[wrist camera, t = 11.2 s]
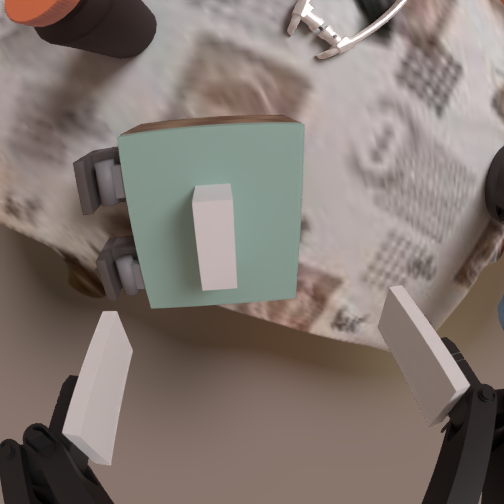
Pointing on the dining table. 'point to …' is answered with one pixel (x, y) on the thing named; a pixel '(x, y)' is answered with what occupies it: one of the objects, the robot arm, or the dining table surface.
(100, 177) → the door
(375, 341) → the dining table surface
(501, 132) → the dining table surface
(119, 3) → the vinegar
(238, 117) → the cabinet
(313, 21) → the door handle
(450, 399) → the robot arm
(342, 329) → the dining table surface
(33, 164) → the dining table surface
